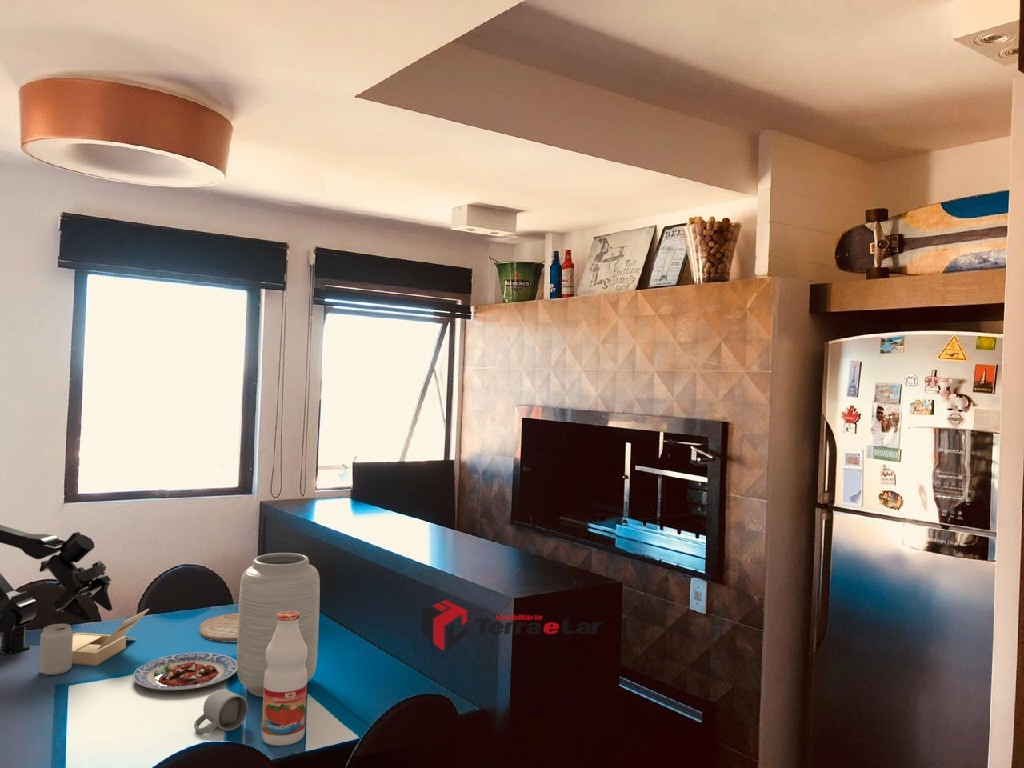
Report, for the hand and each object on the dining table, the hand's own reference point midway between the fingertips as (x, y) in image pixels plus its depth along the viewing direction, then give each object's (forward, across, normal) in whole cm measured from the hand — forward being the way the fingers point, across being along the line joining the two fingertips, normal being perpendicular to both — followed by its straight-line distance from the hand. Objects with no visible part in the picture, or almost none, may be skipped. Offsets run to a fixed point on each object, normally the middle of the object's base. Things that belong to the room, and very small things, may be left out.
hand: (101, 614), depth 218 cm
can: (+6, -13, +11) cm, 18 cm away
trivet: (+28, +30, -12) cm, 43 cm away
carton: (+5, +3, +11) cm, 13 cm away
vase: (+47, -12, -32) cm, 58 cm away
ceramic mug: (+45, -36, -29) cm, 64 cm away
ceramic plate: (+30, -10, -14) cm, 34 cm away
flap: (+8, 0, +3) cm, 8 cm away
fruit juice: (+56, -38, -41) cm, 79 cm away
